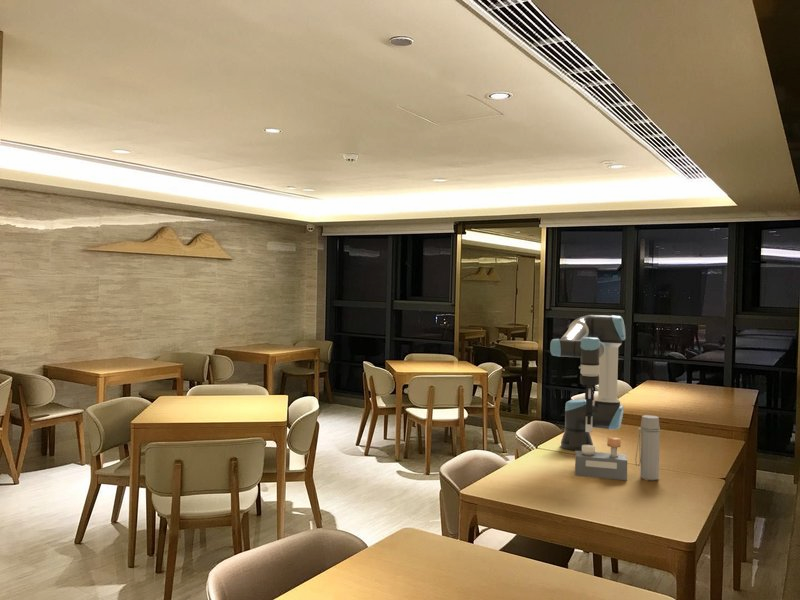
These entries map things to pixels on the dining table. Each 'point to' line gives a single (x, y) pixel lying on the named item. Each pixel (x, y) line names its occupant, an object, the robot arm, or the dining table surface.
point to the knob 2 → (613, 445)
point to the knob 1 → (588, 449)
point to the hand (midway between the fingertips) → (588, 431)
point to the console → (601, 466)
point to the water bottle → (649, 447)
